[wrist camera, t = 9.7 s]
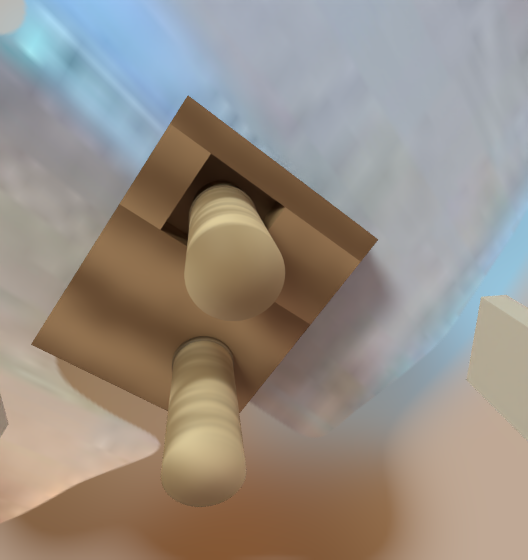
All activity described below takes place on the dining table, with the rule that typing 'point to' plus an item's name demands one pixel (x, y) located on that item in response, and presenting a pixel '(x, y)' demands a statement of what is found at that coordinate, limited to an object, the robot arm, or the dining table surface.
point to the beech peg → (230, 255)
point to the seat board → (184, 312)
